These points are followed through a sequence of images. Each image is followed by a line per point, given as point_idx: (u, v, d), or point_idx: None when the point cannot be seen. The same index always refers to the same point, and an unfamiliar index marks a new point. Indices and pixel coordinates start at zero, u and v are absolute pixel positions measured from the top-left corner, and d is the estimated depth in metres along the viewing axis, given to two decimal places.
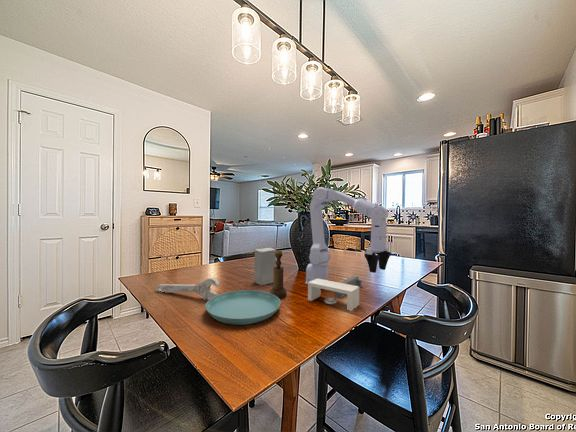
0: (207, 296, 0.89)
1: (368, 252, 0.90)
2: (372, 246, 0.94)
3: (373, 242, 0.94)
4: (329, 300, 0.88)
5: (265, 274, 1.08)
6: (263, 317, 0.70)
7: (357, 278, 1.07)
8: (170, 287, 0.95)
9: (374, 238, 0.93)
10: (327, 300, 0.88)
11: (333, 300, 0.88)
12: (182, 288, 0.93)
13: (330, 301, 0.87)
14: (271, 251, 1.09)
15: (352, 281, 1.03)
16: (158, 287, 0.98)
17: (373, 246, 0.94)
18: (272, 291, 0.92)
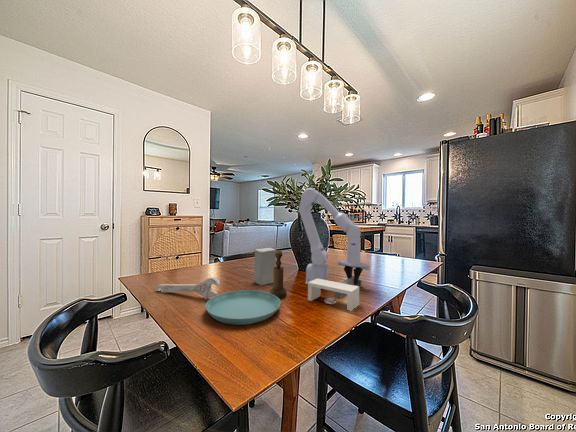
0: (208, 295, 0.89)
1: None
2: None
3: None
4: (329, 300, 0.88)
5: (265, 274, 1.08)
6: (263, 317, 0.70)
7: None
8: (170, 287, 0.95)
9: None
10: (327, 300, 0.88)
11: (333, 300, 0.88)
12: (182, 288, 0.93)
13: (330, 301, 0.87)
14: (271, 251, 1.09)
15: (352, 281, 1.03)
16: (158, 287, 0.98)
17: None
18: (272, 291, 0.92)
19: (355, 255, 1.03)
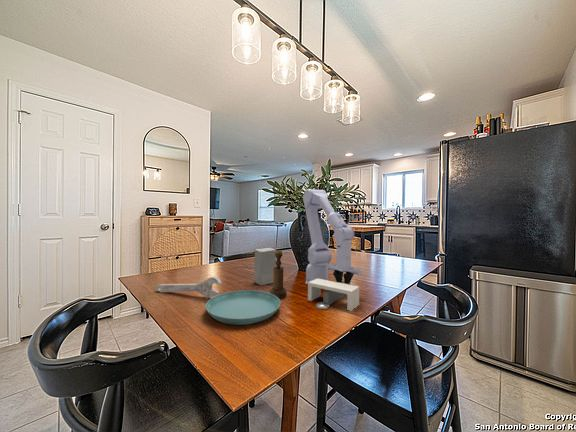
0: (209, 295, 0.90)
1: None
2: None
3: None
4: (321, 304, 0.83)
5: (265, 274, 1.08)
6: (263, 317, 0.70)
7: None
8: (170, 287, 0.96)
9: None
10: (319, 304, 0.83)
11: (326, 304, 0.83)
12: (183, 287, 0.94)
13: (322, 305, 0.82)
14: (271, 251, 1.09)
15: None
16: (158, 287, 0.98)
17: None
18: (272, 291, 0.92)
19: (345, 259, 0.94)
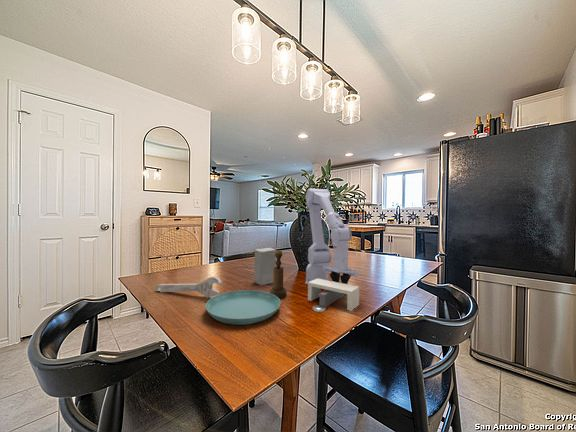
0: (209, 294, 0.90)
1: None
2: None
3: None
4: (318, 307, 0.81)
5: (265, 274, 1.08)
6: (263, 317, 0.70)
7: None
8: (170, 287, 0.96)
9: None
10: (315, 307, 0.81)
11: (322, 307, 0.81)
12: (183, 287, 0.94)
13: (319, 309, 0.80)
14: (271, 251, 1.09)
15: None
16: (158, 287, 0.98)
17: None
18: (272, 291, 0.92)
19: (342, 260, 0.92)
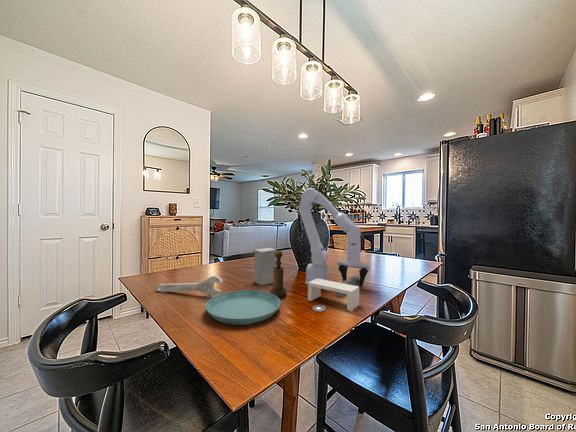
0: (211, 293, 0.92)
1: None
2: None
3: None
4: (317, 307, 0.81)
5: (265, 274, 1.08)
6: (263, 317, 0.70)
7: (358, 278, 1.08)
8: (171, 286, 0.96)
9: None
10: (315, 307, 0.81)
11: (322, 307, 0.81)
12: (184, 287, 0.94)
13: (318, 308, 0.80)
14: (271, 251, 1.09)
15: (353, 281, 1.03)
16: (157, 287, 0.98)
17: None
18: (272, 291, 0.92)
19: (355, 255, 1.03)
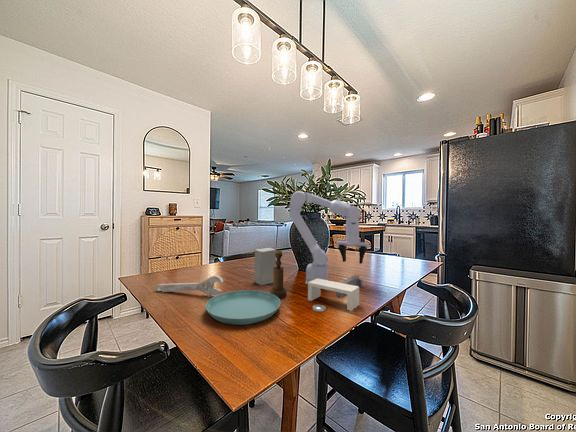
0: (211, 293, 0.92)
1: None
2: None
3: None
4: (318, 306, 0.81)
5: (265, 274, 1.08)
6: (263, 317, 0.70)
7: (358, 278, 1.08)
8: (171, 286, 0.96)
9: None
10: (316, 306, 0.82)
11: (321, 308, 0.80)
12: (184, 287, 0.95)
13: (316, 307, 0.81)
14: (271, 251, 1.09)
15: (353, 281, 1.03)
16: (157, 287, 0.98)
17: None
18: (272, 291, 0.92)
19: (354, 234, 1.06)
